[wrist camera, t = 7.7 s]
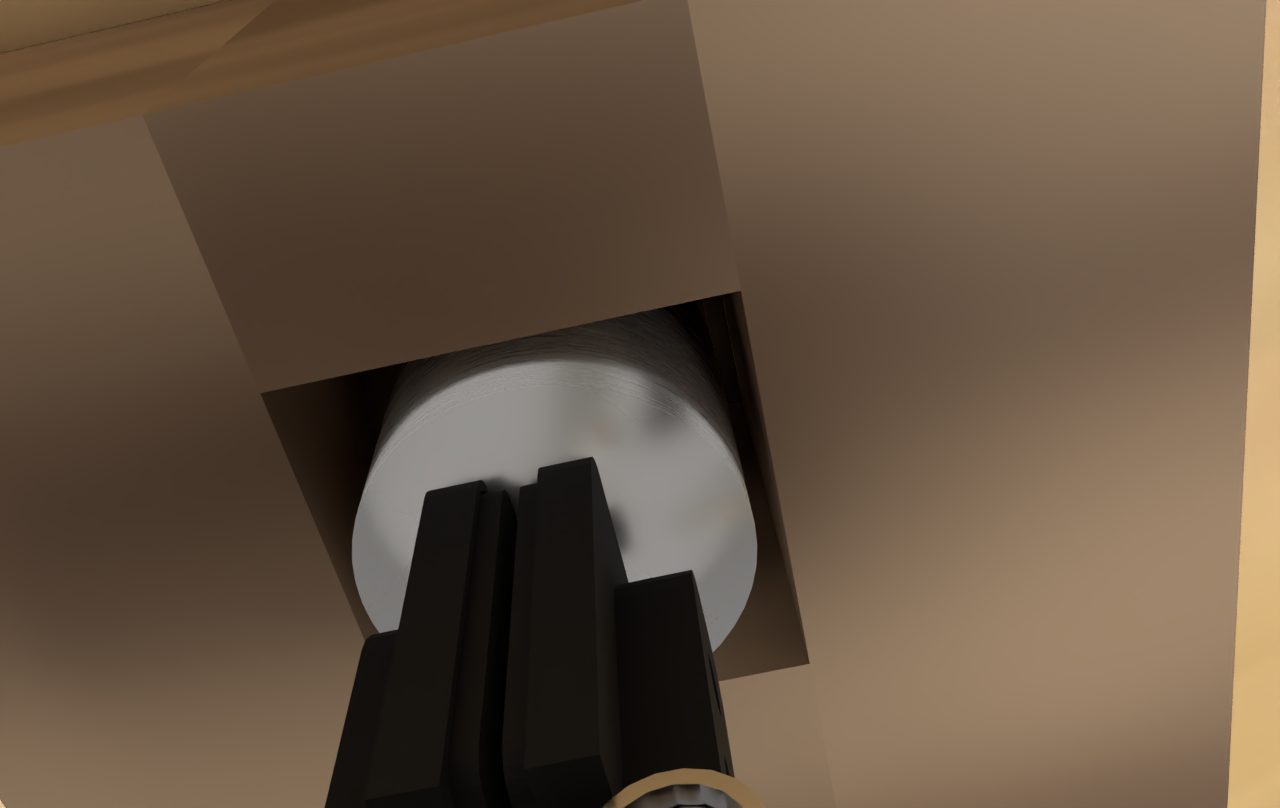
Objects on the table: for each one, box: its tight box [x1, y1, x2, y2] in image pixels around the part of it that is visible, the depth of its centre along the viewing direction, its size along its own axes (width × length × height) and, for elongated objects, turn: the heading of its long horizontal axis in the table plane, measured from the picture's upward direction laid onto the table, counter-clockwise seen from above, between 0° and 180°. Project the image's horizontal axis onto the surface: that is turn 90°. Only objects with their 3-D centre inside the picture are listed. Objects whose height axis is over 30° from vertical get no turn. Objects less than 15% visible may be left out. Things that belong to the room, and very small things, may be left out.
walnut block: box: [0, 0, 1266, 808], centre depth 18 cm, size 22×14×6 cm, turn 12°
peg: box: [352, 299, 757, 653], centre depth 14 cm, size 4×4×6 cm
